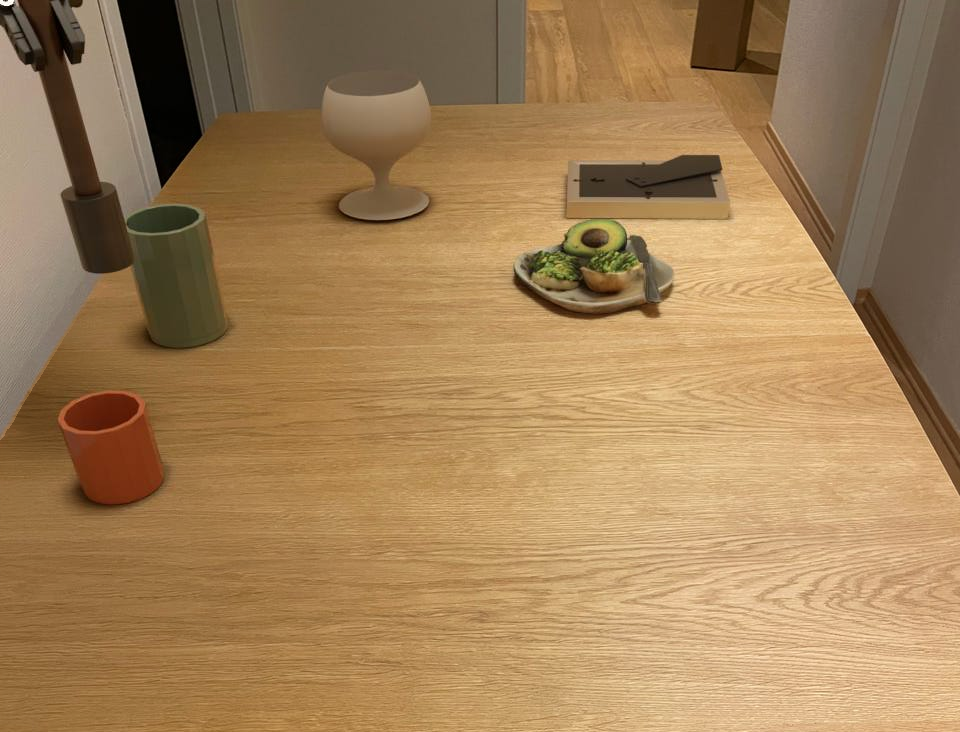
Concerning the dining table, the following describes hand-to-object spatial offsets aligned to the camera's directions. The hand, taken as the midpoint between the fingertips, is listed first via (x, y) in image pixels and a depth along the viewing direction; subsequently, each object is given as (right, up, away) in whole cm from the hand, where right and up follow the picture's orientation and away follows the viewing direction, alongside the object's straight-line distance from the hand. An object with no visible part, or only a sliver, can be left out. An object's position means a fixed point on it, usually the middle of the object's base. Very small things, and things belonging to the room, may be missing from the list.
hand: (58, 59), depth 74 cm
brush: (-1, -10, +12) cm, 16 cm away
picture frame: (+53, +17, +62) cm, 83 cm away
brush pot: (0, -29, +15) cm, 32 cm away
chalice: (+18, +16, +62) cm, 66 cm away
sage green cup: (-1, -9, +36) cm, 37 cm away
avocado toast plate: (+44, -1, +43) cm, 62 cm away
